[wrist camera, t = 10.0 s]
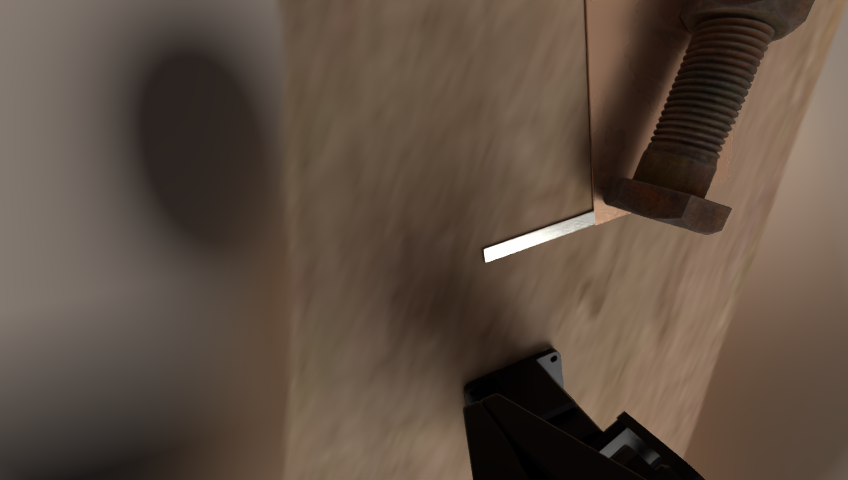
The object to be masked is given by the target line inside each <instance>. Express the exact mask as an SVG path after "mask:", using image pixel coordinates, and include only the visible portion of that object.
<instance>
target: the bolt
mask: <svg viewBox="0 0 848 480" xmlns="http://www.w3.org/2000/svg"><path fill="white" fill-rule="evenodd" d="M814 1H815V0H687V1H686V4H685V6H684V9H683V11H682V14H681V16H680V17H681V19H682V21H683V22H684V24H685V26H686V27H687V29H688V30H689V31H691V32H692V33H693V35H692V36H691V41H690V42H689V44H688V48H687V49H686V51H685V53H686V55H685V56H684V57H683V62H682V63H681V64H680V69H679V70H678V72H677V74H678V76H676V77H675V79H674V80H675V82H674V83H673V84H672V90H670V91H669V96H668V97H667V99H666V101H667V103H665V104H664V110H662V111H661V115H662V116H660V117H659V119H658V120H659V123H657V124H656V128H657V129H656V130H654V132H653V134H654V135H655V136H652V137H651V141H652V142H650V143H649V144H648V147H647V149H646V150H645V151H644V152H643V154H642V156H641V159H640V161H639V164H638V166H637V169H636V171H635V173H634V176H633V178H632V179H629V178H623V177H609V180H608V182H607V185H606V187H605V190H604V193H603V195H602V197H603V201H604V203H605V204H606V205H608V206H612V207H615V208H618V209H621V210H625V211H628V212H631V213H634V214H637V215H640V216H643V217H647V218H650V219H654V220H657V221H661V222H664V223H667V224H671V225H674V226H678V227H681V228H685V229H688V230H691V231H694V232H697V233H701V234H705V235H709V234H713V233H716V232H719V231H722V229H723V227H724V225H725V222H726V220H727V218H728V216H729V214H730V212H731V210H732V209H731V208H730V207H727V206H724V205H721V204H718V203H715V202H712V201H709V200H706V199H704V198H705V196H706V193H707V191H708V189H709V186H710V184H711V182H712V180H713V177H714V175H715V173H716V170H717V160H718V159H719V158H720V155H719V154H718V153H717V152H721V151H722V150H723V148H722V147H721V146H720V145H723V144H725V142H726V141H725V140H724V138H727V137H728V136H729V134H728V133H727V132H729V131H731V130H732V127H731V126H730V125H733V124H735V122H736V121H735V120H734V119H733V118H736V117H738V114H739V113H738V112H737V111H739V110H741V108H742V106H741V105H740V104H742V103H744V102H745V99H744V97H745V96H747V95H748V91H747V89H750V88H751V83H750V82H752V81H753V80H754V76H753V75H754V74H756V72H757V67H758V66H759V65H760V61H759V60H761V59H762V58H763V57H764V52H766V51H767V49H768V47H767V45H768V44H769V43H771V42H772V41H776V40H778V39H781V38H783V37H785V36H786V35H788V34H789V33H791V32H792V31H794V30H795V29H796V28H797V27H799V26H800V25H801V24H802V23H803V22H805V21H806V18H807V16H808V14H809V12H810V10H811V7H812V5H813V3H814Z"/></svg>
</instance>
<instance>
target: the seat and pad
mask: <svg viewBox="0 0 848 480" xmlns="http://www.w3.org/2000/svg"><path fill="white" fill-rule="evenodd" d="M686 1H687V0H585V9H586V35H587V62H588V88H589V115H590V141H591V167H592V194H593V211H591V212H588V213H585V214H582V215H579V216H576V217H574V218H571V219H568V220H565V221H562V222H559V223H556V224H553V225H551V226H548V227H545V228H542V229H539V230H536V231H533V232H530V233H527V234H525V235H522V236H519V237H516V238H513V239H510V240H507V241H504V242H501V243H499V244H496V245H493V246H490V247H487V248H484V249H483V254H484V260H485V263H486V262H489V261H492V260H495V259H498V258H500V257H503V256H506V255H509V254H512V253H515V252H517V251H520V250H523V249H526V248H529V247H531V246H534V245H537V244H540V243H543V242H546V241H548V240H551V239H554V238H557V237H560V236H562V235H565V234H568V233H571V232H574V231H577V230H579V229H582V228H585V227H588V226H591V225H593V224H594V225H598V224H601V223H604V222H606V221H609V220H612V219H615V218H618V217H620V216H623V215H626V214H629V213H631V212H628V211H625V210H621V209H618V208H615V207H612V206H608V205H606V204H605V203H604V201H603V197H602V195H603V193H604V190H605V187H606V185H607V182H608V180H609V177H623V178H629V179H632V178H633V176H634V173H635V171H636V169H637V166H638V164H639V161H640V159H641V156H642V154H643V152H644V151H645V150H646V149H647V147H648V144H649V143H650V142H652V141H651V137H652V136H655V135H654V134H653V132H654V130H656V129H657V128H656V124H657V123H659V120H658V119H659V117H660V116H662V115H661V111H662V110H664V104H665V103H667V101H666V99H667V97H668V96H669V91H670V90H672V84H673V83H674V82H675V80H674V79H675V77H676V76H678V74H677V72H678V70H679V69H680V64H681V63H682V62H683V57H684V56H685V55H686V53H685V51H686V49H687V48H688V44H689V42H690V41H691V36H692V35H693V33H692V32H691V31H689V30H688V29H687V27H686V26H685V24H684V22H683V21H682V19H681V17H680V16H681V14H682V11H683V9H684V6H685V4H686ZM733 119H734V120H735V118H733ZM730 126H731V127H732V130H731V131H729V132H727V133H728V134H729V136H728V137H727V138H724V140H725V141H726V142H725V144H723V145H720V146H721V147H722V148H723V150H722V151H721V152H717V153H718V154H719V155H720V158H719V159H718V160H717V170H716V173H715V175H714V177H713V180H712V182H711V184H713V183H716V182H719V181H722V180H724V179H727V178H729V170H730V161H731V151H732V141H733V132H734V124H733V125H730Z"/></svg>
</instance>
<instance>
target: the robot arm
mask: <svg viewBox="0 0 848 480" xmlns="http://www.w3.org/2000/svg"><path fill="white" fill-rule="evenodd" d="M552 356H553V357H552ZM551 357H552V358H551ZM472 390H474V391H472ZM471 391H472V392H471ZM464 395H465V400H466V404H467V406H465V407H464V408H463V414H464V421H465V428H466V435H467V442H468V449H469V456H470V463H471V470H472V476H473V480H705V479H704V478H703V477H702V476H701V475H700V474H699V473H698V472H696V471H695V470H694V469H693V468H692V467H691V466H690V465H688V463H687V462H685V461H684V460H683V459H682V458H681V457H679V456H678V455H677V454H676V453H675V452H673V451H672V450H671V449H670V448H669V447H667V446H666V445H665V444H664V443H662V442H661V441H660V440H659V439H658V438H656V437H655V436H654V435H653V434H652V433H650V432H649V431H648V430H647V429H645V428H644V427H643V426H642V425H641V424H639V423H638V422H637V421H636V420H635V419H633V418H632V417H631V416H630V415H628V414H627V413H626V412H625V411H624V412H623V413H621V414H620V415H619V416H618V417H617V420H616V421H615V422H614V423H613V424H612V425H610V426H609V427H608V428H607V429H606V430H605V431H602V430H601V429H600V428H599V427H598V426H597V425H596V424H595V423H594V422H593V420H592V419H591V418H590V417H589V416H588V415H587V414H586V413H585V412H584V411H583V410H582V409H581V408H580V407H579V406H578V404H577V403H576V402H575V401H574V400H573V398H572V397H571V396H570V395H569V394H568V393H567V392H566V391H565V390H564V388H563V377H562V365H561V355H560V353H559V352H558V351H557V350H555V349H553V348H551V349H548V350H546V351H543V352H541V353H539V354H536V355H534V356H531V357H529V358H527V359H524V360H522V361H519V362H517V363H515V364H512V365H510V366H508V367H505V368H503V369H500V370H498V371H496V372H493V373H491V374H489V375H486V376H484V377H481V378H479V379H477V380H474V381H472V382H470V383H468V384H467V385H466V386H465V388H464Z"/></svg>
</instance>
